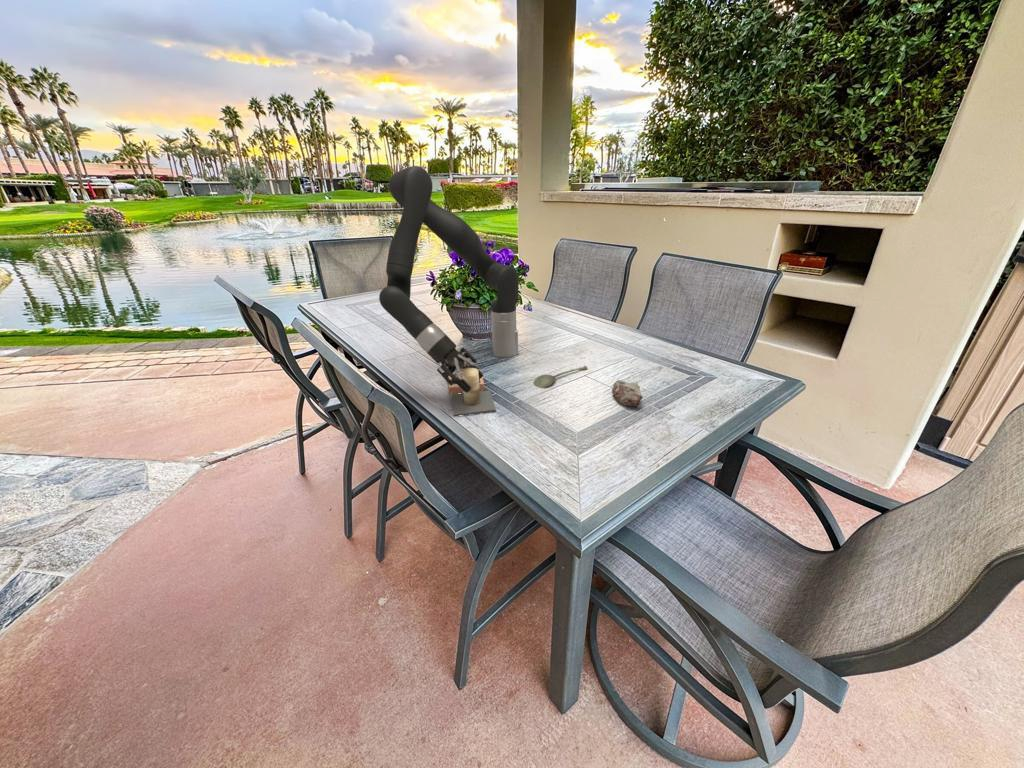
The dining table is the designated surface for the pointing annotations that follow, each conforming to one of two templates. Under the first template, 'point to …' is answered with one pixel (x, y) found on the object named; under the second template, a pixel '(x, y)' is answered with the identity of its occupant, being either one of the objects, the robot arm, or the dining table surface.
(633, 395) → the mineral rock
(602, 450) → the dining table surface
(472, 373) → the maple post
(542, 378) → the soupspoon
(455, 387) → the terracotta collar
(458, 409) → the charcoal mat
